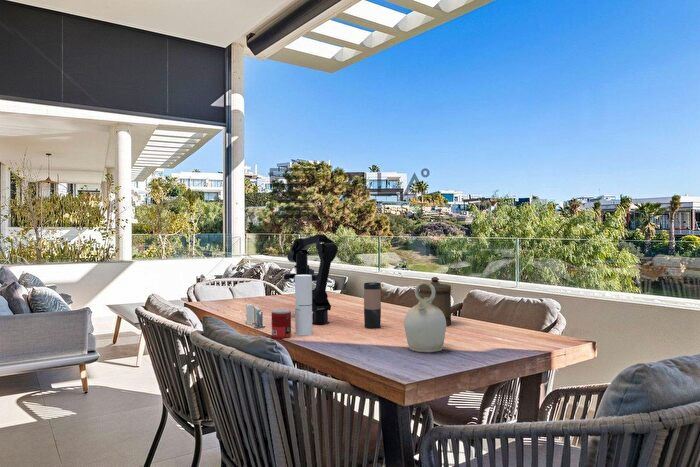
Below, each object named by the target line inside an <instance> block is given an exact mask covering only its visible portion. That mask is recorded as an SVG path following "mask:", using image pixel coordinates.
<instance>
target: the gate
mask: <svg viewBox="0 0 700 467" xmlns="http://www.w3.org/2000/svg"><path fill="white" fill-rule="evenodd" d="M261 310H262V309H261V308H259V306H257V305H253V323H255V325H257V312H262V311H261Z"/></svg>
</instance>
